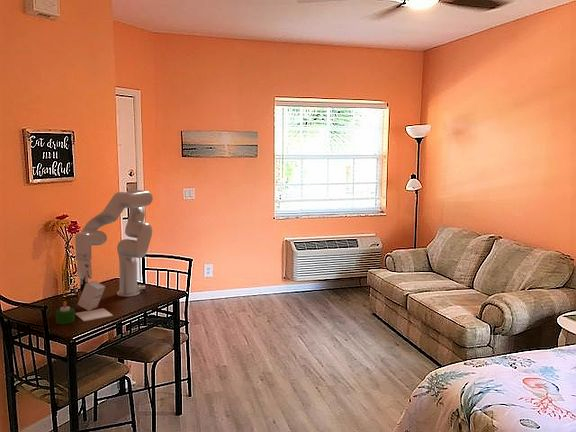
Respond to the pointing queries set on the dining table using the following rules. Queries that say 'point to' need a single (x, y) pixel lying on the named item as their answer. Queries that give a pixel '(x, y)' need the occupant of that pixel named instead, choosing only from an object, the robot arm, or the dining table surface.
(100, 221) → the robot arm
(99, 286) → the supplement box
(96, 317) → the mat
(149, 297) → the dining table surface
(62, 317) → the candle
